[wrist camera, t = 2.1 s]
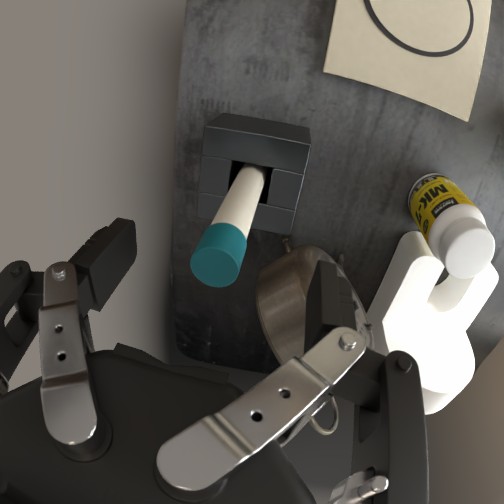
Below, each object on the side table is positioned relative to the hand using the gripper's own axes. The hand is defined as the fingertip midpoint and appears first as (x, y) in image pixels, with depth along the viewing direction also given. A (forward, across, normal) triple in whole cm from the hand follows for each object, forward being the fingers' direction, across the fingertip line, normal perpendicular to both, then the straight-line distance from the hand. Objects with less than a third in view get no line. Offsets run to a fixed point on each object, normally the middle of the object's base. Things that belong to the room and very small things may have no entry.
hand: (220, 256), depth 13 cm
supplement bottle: (+13, -15, 0) cm, 20 cm away
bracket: (+13, -19, +12) cm, 26 cm away
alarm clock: (+13, -7, +8) cm, 17 cm away
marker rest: (+13, 0, 0) cm, 13 cm away
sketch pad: (+13, -9, -16) cm, 23 cm away
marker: (+13, 0, 0) cm, 13 cm away
